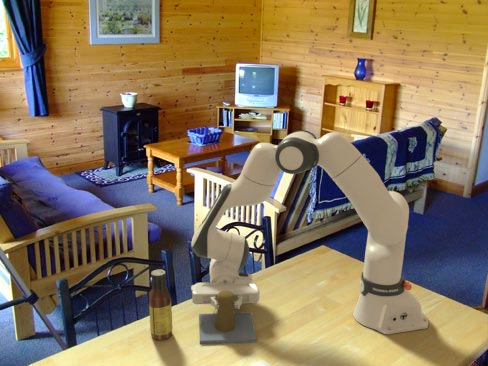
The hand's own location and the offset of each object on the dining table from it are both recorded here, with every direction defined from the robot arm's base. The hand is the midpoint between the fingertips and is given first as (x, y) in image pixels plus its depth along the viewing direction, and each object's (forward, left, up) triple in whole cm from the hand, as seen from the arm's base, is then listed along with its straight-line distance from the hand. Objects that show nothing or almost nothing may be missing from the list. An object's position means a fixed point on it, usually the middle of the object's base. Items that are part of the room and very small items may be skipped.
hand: (227, 307), depth 154 cm
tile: (0, -1, -8) cm, 8 cm away
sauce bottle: (+19, +1, -8) cm, 21 cm away
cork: (0, -1, -7) cm, 7 cm away
